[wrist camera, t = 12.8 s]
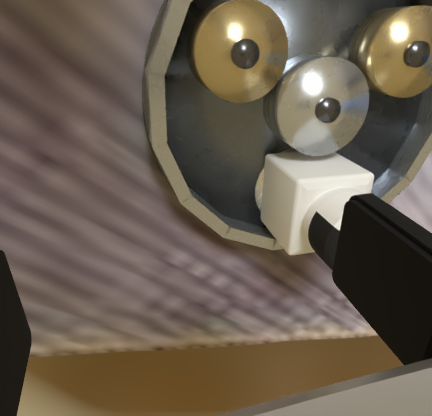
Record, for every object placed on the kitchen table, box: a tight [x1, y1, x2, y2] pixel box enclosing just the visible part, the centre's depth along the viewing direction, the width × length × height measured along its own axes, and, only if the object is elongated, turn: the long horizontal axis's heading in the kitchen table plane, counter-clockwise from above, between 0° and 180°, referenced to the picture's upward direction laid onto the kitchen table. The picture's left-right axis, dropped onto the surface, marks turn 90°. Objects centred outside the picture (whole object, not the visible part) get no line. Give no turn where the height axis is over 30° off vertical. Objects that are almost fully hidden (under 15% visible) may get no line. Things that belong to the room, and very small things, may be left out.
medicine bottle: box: [260, 152, 374, 270], centre depth 32 cm, size 7×7×12 cm
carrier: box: [142, 0, 432, 250], centre depth 32 cm, size 29×29×6 cm
